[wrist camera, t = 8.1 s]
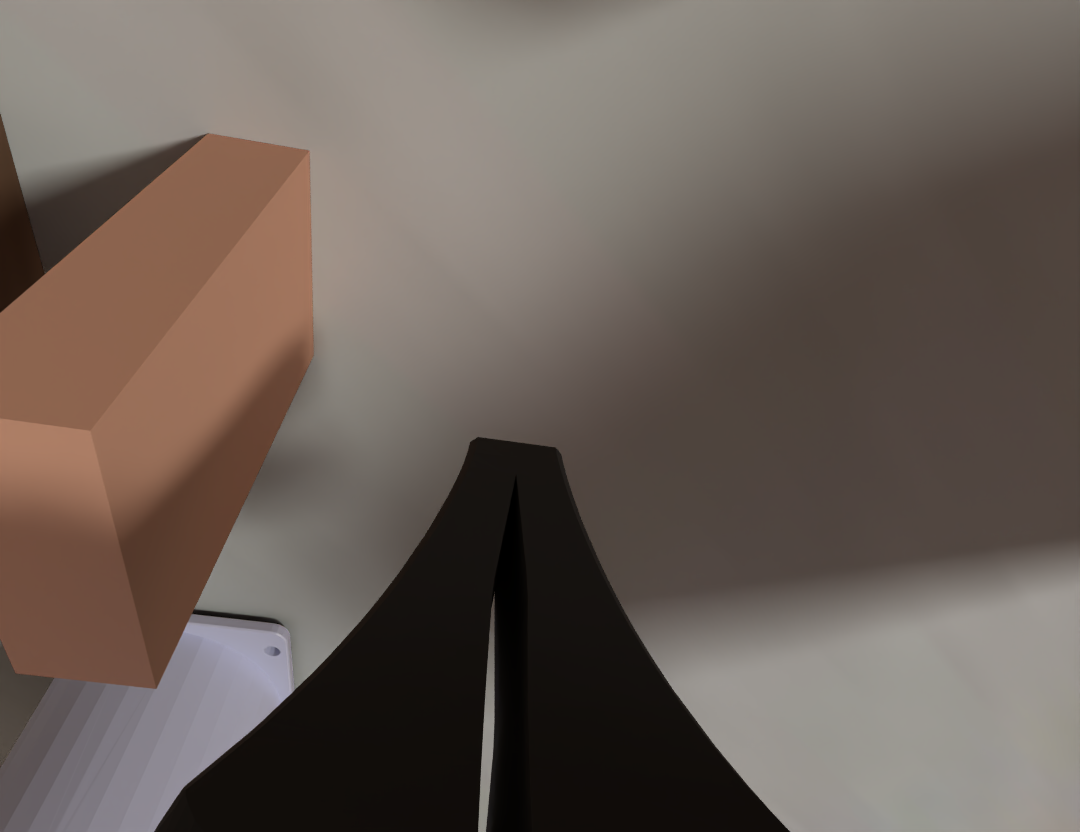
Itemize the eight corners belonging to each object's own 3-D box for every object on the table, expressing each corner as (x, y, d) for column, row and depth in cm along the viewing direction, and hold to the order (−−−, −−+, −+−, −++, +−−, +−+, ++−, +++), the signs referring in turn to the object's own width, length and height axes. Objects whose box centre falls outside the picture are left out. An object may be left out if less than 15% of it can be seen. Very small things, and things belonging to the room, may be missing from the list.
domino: (313, 355, 18) (156, 689, 11) (229, 343, 18) (15, 673, 11) (309, 150, 15) (90, 430, 8) (208, 133, 15) (-105, 403, 8)
